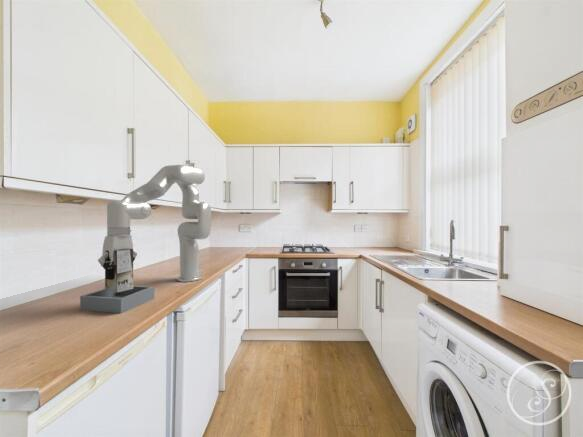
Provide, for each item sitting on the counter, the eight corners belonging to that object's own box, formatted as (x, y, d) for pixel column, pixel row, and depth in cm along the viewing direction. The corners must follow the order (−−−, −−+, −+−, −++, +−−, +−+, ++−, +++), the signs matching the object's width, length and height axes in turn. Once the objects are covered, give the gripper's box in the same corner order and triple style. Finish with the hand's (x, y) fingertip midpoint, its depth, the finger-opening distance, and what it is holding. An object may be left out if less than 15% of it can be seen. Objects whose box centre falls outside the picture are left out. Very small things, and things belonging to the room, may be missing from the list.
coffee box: (134, 288, 99) (134, 248, 99) (116, 293, 93) (116, 250, 93) (121, 286, 103) (121, 247, 103) (103, 289, 97) (103, 249, 97)
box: (118, 296, 108) (118, 284, 108) (154, 298, 104) (154, 286, 104) (80, 309, 92) (80, 296, 92) (121, 313, 89) (120, 299, 89)
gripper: (129, 230, 107) (129, 271, 107) (89, 233, 90) (89, 281, 90) (144, 231, 106) (144, 272, 106) (106, 233, 89) (106, 283, 89)
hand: (119, 276), depth 98 cm, fingers closed on coffee box, 7 cm apart
